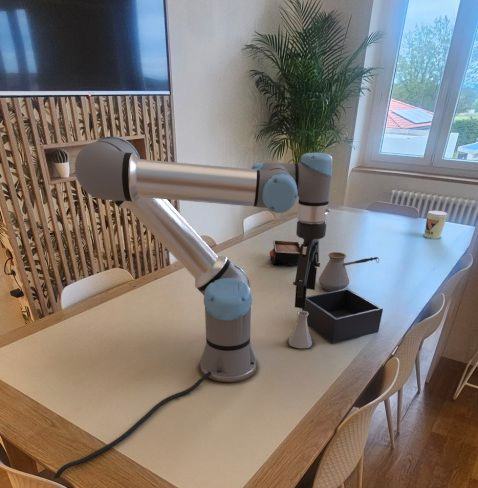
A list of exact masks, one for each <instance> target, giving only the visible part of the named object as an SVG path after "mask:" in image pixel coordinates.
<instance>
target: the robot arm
mask: <svg viewBox="0 0 478 488" xmlns="http://www.w3.org/2000/svg"><path fill="white" fill-rule="evenodd" d="M300 159H301V160H300V162H294V163H292V162H291V163H290V162H265V161H264V162H260V163H258V162H257V163H254V164H253V165H251V168H243V167H232V166H220V165H209V164H198V163H187V162H177V161H176V162H175V161H164V160H153V159H143V158H141V156H140V154H139V152H138V151H137V149H136V147H135V146H134V145H133V144H132V143H130V142H129V141H127V140H126V139H124V138H121V137H118V136H104V137H101V138H99V139H97V140H96V141H93V142H90V143H88V144H86V145H84V146H83V147H82V148H81V149H80V150H79V151H78V153H77V155H76V157H75V161H74V174H75V177H76V179H77V181H78V184H79V185H80V187H81V188H82V189H83V190H84V191H85V192H86V193H87V194H88V195H90V196H91V197H93V198H96V199H99V200H102V201H103V200H104V201H112V202H113V203H114V205H116V206H117V207H118V208H119V209H127V210H129V211H130V212H131V213H132V214H133V215H134V216H135V218H137V219H138V220H139V221H140V223H142V225H143V226H144V227H145V228H146V229H147V230H148V231H149V232H150V233H151V234H152V235H153V236H154V237H155V239H157V240H158V241H159V243H161V245H163V247H164V248H165V249H166V250H167V251H168V252H169V253H170V254H171V255H172V256H173V257H174V258H175V259H176V260H177V261H178V262H179V263H180V264H181V265H182V267H183V268H184V269H186V270H187V272H188V273H189V274H190V275H191V276H192V277H193V278H194V287H195V288H196V289H197V290H198V291H199V292H200V293H201V294H202V295H203V305H204V318H205V319H204V321H205V322H204V323H205V346H204V348H203V351H202V355H201V357H200V362H199V363H200V371H201V373H202V374H203V376H202V377H200V378H199V379H197V381H196V382H195V383H194V384H192V385H191V386H190V387H188V388H186V389H185V390H183V391H180V392H178V393H175V394H172V395H170V396H167V397H166V398H163V399H162V400H160V401H159V402H158V403H157V404H156V405H154V406H153V407H152V408H151V409H149V411H147V413H146V414H145V415H144V416H142V417H141V418H140V419H139V420H138V421H136V423H134V424H133V425H132V426H130V428H128V430H127V431H125V432H124V433H123V434H121V435H120V436H119V437H116V438H115V439H114V440H113V441H111V442H110V443H108V444H106V445H104V446H103V447H101V448H99V449H98V450H95V451H94V452H92V453H90V454H88V455H86V456H84V457H82V458H79V459H76V460H73V461H70V462H67V463H65V464H63V465H62V466H61V467H60V468H59V469H58V470H57V471H56V473H55V474H54V476H53V479H55V480H56V479H59V478H60V477H61V475H62V474H64V472H65V471H66V470H67V469H70V468H72V467H75V466H78V465H81V464H83V463H86V462H88V461H90V460H91V459H93V458H95V457H97V456H99V455H101V454H103V453H104V452H106V451H108V450H110V449H112V448H113V447H115V446H116V445H118V444H119V443H121V442H122V441H123V440H124V439H126V438H127V437H128V436H130V435H131V434H132V433H133V432H134V431H136V429H138V428H139V427H140V426H141V425H142V424H143V423H144V422H145V421H146V420H148V419H149V418H150V417H151V415H153V414H154V413H155V412H156V411H157V410H158V409H159V408H161V407H162V406H163V405H165V404H166V403H168V402H169V401H172V400H174V399H176V398H179V397H182V396H184V395H187V394H188V393H190V392H193V391H194V390H195V389H197V388H198V386H200V385H201V384H202V383H203V382H204V381H205V380H206V379H207V378H208V379H209V380H212V381H214V382H219V383H225V384H226V383H228V384H229V383H238V382H243V381H245V380H247V379H249V378H251V377H252V376H253V375H254V374H255V373H256V371H257V359H256V355H255V353H254V349H253V346H252V344H251V330H252V329H251V328H252V327H251V325H252V305H253V297H252V291H251V285H250V280H249V278H248V275H247V274H246V272H245V270H243V269H242V268H241V267H240V266H238V265H236V264H233V263H232V262H231V261H230V260H229V259H228V258H227V256H225V255H223V256H221V255H217V254H216V252H214V250H213V249H212V248H211V247H210V246H209V245H208V243H206V241H205V240H204V239H203V238H202V237H201V236H200V235H199V233H198V232H197V231H196V230H195V229H194V228H193V227H192V226H191V225H190V223H188V221H187V220H186V219H185V218H184V217H183V215H181V213H180V212H179V211H178V210H177V209H176V208H175V207H174V206H173V205H172V203H171V202H170V201H169V200H171V201H180V202H181V201H182V202H193V203H204V204H205V203H207V204H217V205H231V206H232V205H233V206H243V207H253V208H264V209H268V210H269V211H271V212H273V213H276V214H284V213H286V212H288V211H290V210H291V209H292V208H293V207H294V206H295V204H296V202H297V201H298V202H297V216H296V219H297V221H296V231H295V235H296V237H298V238H300V239H303V242H302V243H300V253H299V260H298V266H296V267H297V268H296V273H295V274H296V275H295V278H294V279H295V280H294V281H293V282H292V285H293V286H295V297H294V308H296V309H302V308H303V309H305V303H306V297H307V291H308V290H313V291H315V289H316V284H317V283H316V282H317V281H316V280H317V272H318V271H317V270H318V268H321V267H320V266H321V263H320V239H323V238H325V237H326V234H327V226H328V225H327V222H326V221H327V219H328V213H331V208H330V207H329V204H330V203H329V202H330V193H331V185H332V178H333V157H332V155H330V154H329V153H326V152H325V153H324V152H307V153H303V154H302V155H301V158H300Z"/></svg>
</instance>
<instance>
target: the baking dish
mask: <svg viewBox="0 0 478 488" xmlns="http://www.w3.org/2000/svg"><path fill="white" fill-rule="evenodd" d="M272 244H273V248H272V249H271V250H270V251H269V256H270V259H271V263H272V265H276V264H279V263H284V264H289V265H294V266H296V267H297V266H298V260H299V253H300V246H301V243H300V242H299V241H293V240H284V239H283V240H280V239H274V240H273V241H272Z"/></svg>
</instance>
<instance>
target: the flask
mask: <svg viewBox="0 0 478 488" xmlns="http://www.w3.org/2000/svg"><path fill="white" fill-rule="evenodd" d="M296 315H297V320H296V324H295V327H294V329H293V331H292V333H291V335H290V337H289V339H288V344H289V346H290V347H293V348H296V349H309V348H310V347H312V345H313V340H312V337H311V334H310V329H309V327H308V326H309V325H307V316H308V312H306V311H302V310H299V311H297V313H296Z"/></svg>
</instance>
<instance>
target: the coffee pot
mask: <svg viewBox="0 0 478 488" xmlns="http://www.w3.org/2000/svg"><path fill="white" fill-rule="evenodd" d="M328 257H329V260H328V262H327V263H326V265H325V267H324V269H323V270H322V272H321V273H320V276H319V278H318V283H319V285H320V286H321V287H322V289H324V290H325V291H328V292H332V291H337V290H342V289H346V288H347V287H348V286H349V284H350V278H349V275H348V272H347V268H346V266H349V265H354V264H355V265H356V264H362V263H367V262H372V261H374V260H375V262H376V264H379V263H380V261H378V260H380V258H379V256H374V257H370V258H369V257H368V258H367V257H366V258H361V259H357V260H354V261H349V262H345V258H347V254H345V253H344V252H338V251H336V252H335V251H334V252H333V251H332V252H329V253H328Z"/></svg>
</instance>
